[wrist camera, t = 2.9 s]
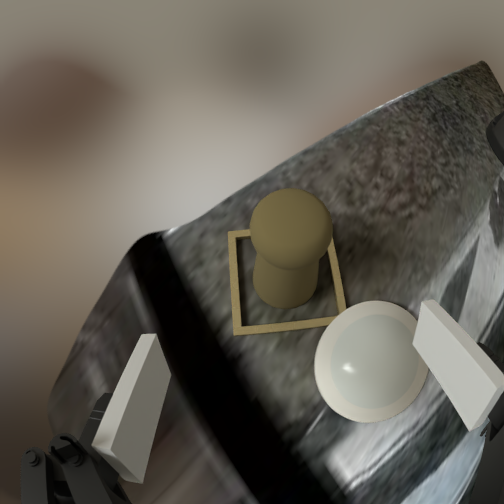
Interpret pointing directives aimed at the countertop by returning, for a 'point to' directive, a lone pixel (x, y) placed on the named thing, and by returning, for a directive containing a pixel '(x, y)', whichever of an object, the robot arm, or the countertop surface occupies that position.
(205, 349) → the countertop surface
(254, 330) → the square frame
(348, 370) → the saucer
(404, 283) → the countertop surface
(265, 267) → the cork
